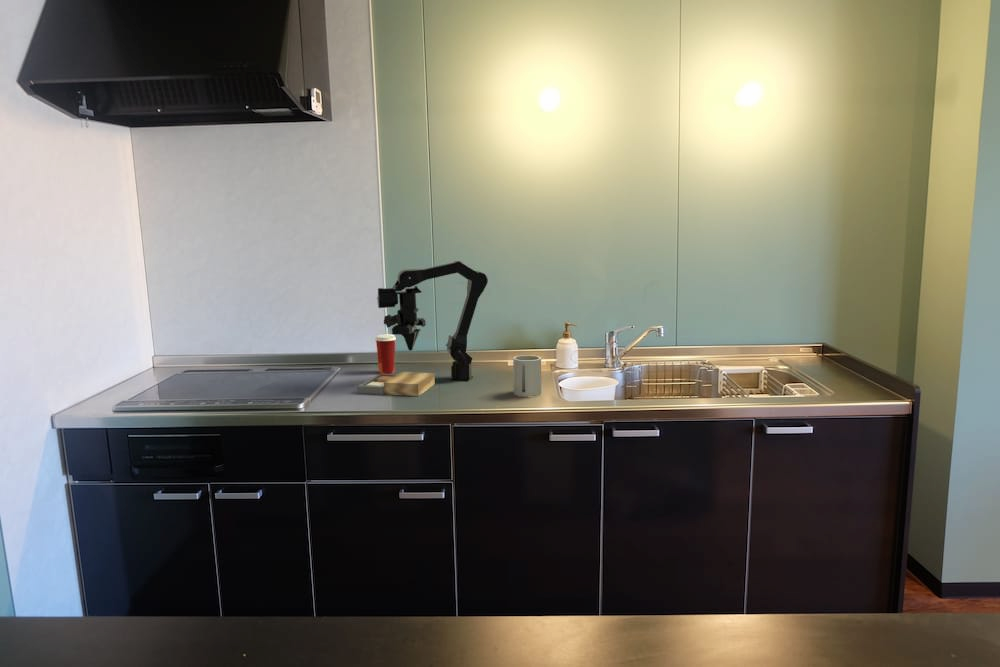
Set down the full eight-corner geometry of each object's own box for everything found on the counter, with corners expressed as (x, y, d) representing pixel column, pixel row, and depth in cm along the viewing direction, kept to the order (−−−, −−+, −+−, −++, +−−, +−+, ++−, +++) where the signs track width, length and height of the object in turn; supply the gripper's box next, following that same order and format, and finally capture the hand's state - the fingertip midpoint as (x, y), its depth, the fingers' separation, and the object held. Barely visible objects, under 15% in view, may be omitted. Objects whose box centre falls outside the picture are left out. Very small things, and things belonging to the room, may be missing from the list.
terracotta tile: (381, 376, 242) (382, 381, 243) (376, 379, 238) (376, 384, 238) (393, 376, 241) (393, 382, 242) (388, 379, 237) (389, 385, 237)
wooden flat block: (434, 384, 240) (434, 373, 239) (418, 396, 224) (418, 384, 224) (402, 382, 243) (402, 371, 242) (384, 394, 227) (383, 382, 227)
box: (403, 381, 244) (403, 375, 243) (383, 394, 226) (382, 387, 226) (380, 380, 246) (379, 373, 245) (358, 393, 228) (357, 385, 228)
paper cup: (401, 371, 261) (399, 334, 258) (389, 375, 254) (388, 338, 251) (383, 369, 264) (382, 333, 262) (372, 373, 257) (370, 336, 255)
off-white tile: (372, 381, 234) (372, 387, 234) (366, 384, 230) (366, 390, 230) (384, 382, 233) (384, 388, 233) (378, 385, 229) (379, 391, 229)
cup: (537, 389, 232) (537, 354, 230) (543, 396, 223) (543, 360, 221) (511, 390, 231) (510, 355, 228) (516, 397, 222) (516, 361, 220)
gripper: (395, 302, 249) (398, 344, 252) (376, 310, 231) (378, 355, 234) (425, 302, 247) (427, 345, 249) (407, 310, 229) (410, 356, 231)
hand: (410, 350), depth 241 cm, fingers closed
